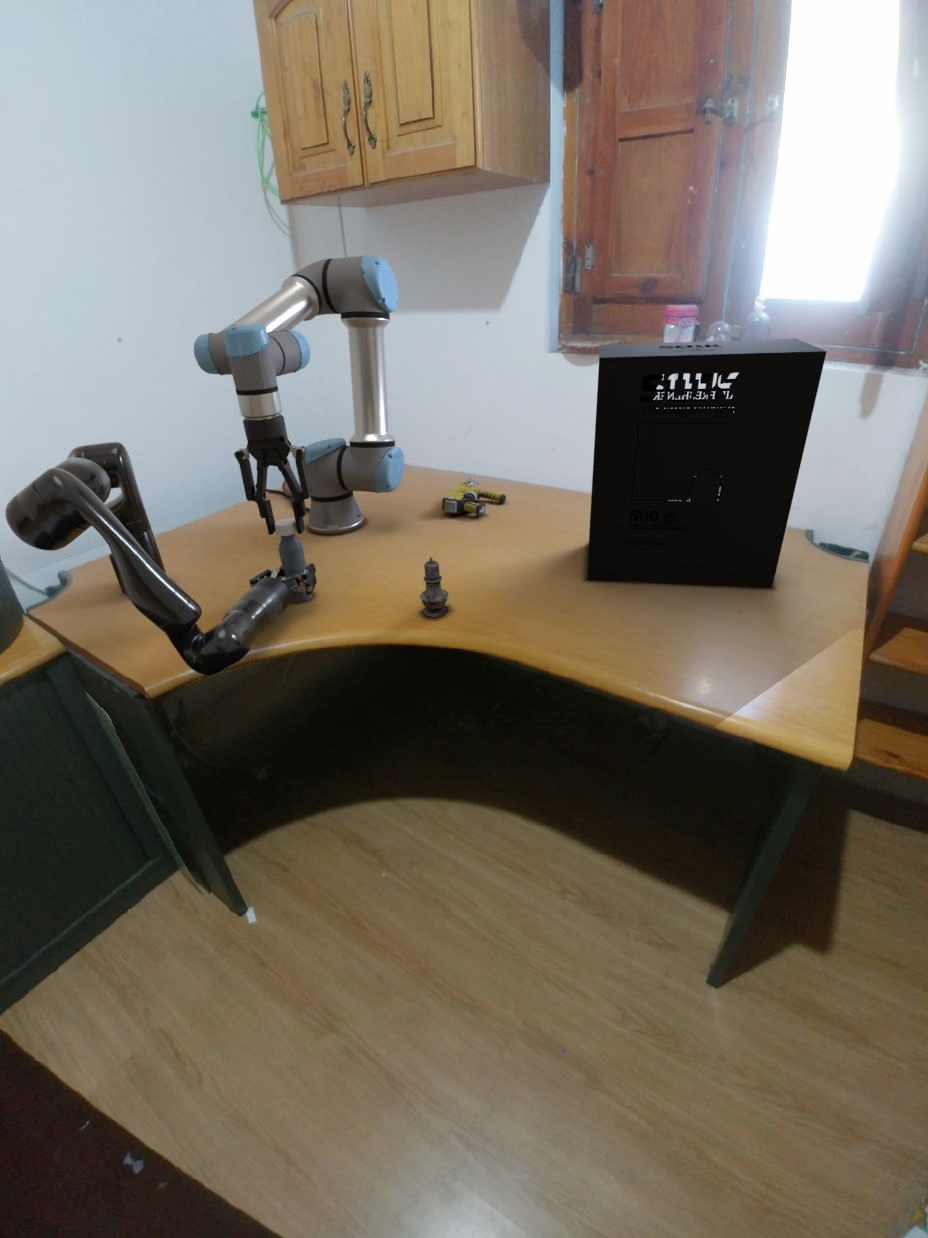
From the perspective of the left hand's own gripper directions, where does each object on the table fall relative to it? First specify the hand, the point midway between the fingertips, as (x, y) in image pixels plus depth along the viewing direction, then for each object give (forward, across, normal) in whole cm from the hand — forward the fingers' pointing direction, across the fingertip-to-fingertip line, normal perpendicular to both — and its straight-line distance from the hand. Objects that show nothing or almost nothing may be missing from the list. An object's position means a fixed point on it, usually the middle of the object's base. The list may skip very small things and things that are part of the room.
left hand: (300, 566), depth 131 cm
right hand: (-3, 0, -9) cm, 10 cm away
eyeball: (+63, +32, +6) cm, 71 cm away
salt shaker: (-6, -31, +6) cm, 32 cm away
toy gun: (+59, -29, +6) cm, 66 cm away
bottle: (-3, 0, +6) cm, 7 cm away
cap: (-3, 0, -11) cm, 11 cm away
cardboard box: (+22, -80, +6) cm, 83 cm away
